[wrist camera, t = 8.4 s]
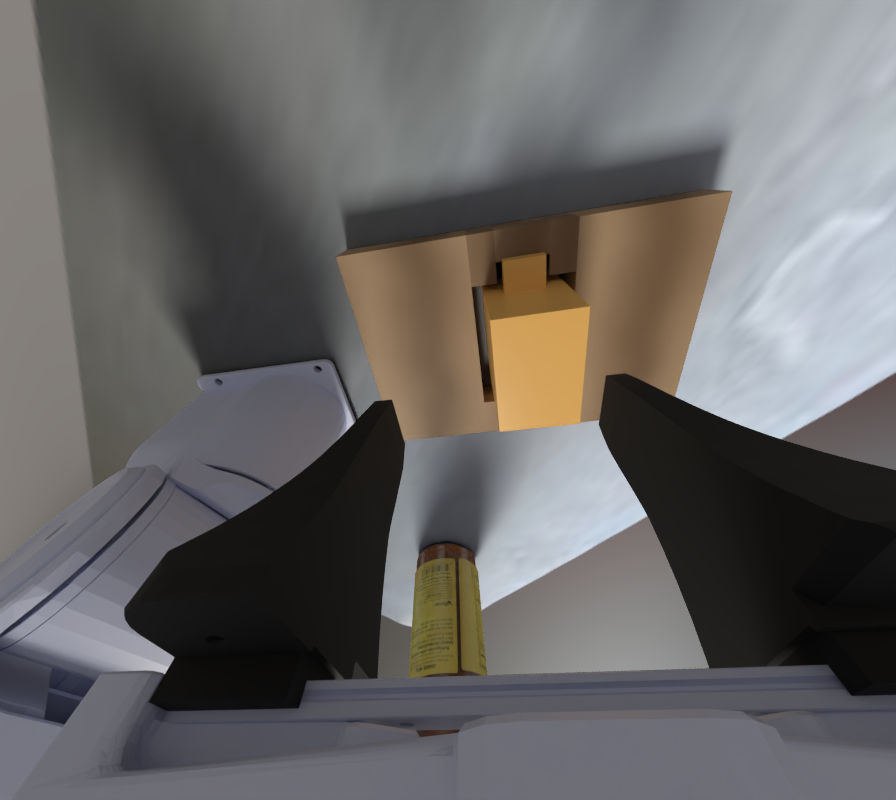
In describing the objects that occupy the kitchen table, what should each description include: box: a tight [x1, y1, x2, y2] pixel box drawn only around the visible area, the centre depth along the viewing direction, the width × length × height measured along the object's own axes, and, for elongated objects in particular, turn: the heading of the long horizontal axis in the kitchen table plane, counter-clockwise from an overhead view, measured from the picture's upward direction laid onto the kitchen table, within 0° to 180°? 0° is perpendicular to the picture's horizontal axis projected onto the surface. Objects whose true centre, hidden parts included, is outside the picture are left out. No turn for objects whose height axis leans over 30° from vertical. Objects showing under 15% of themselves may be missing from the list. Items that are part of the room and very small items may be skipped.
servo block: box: [481, 252, 590, 432], centre depth 17 cm, size 4×9×6 cm, turn 9°
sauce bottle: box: [409, 543, 487, 737], centre depth 26 cm, size 7×6×20 cm
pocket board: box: [336, 190, 732, 440], centre depth 19 cm, size 18×12×2 cm, turn 99°
